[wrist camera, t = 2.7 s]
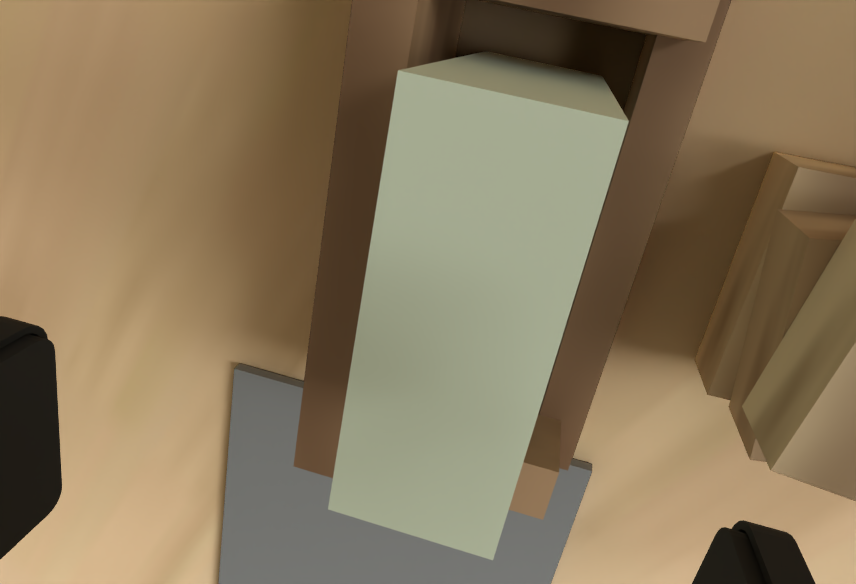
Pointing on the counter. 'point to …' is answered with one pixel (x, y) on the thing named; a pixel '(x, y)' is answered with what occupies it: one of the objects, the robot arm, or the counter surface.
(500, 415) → the sage green brick
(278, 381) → the mat
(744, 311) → the block
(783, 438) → the offcut top
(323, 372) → the rack
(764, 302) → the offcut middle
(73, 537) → the counter surface
